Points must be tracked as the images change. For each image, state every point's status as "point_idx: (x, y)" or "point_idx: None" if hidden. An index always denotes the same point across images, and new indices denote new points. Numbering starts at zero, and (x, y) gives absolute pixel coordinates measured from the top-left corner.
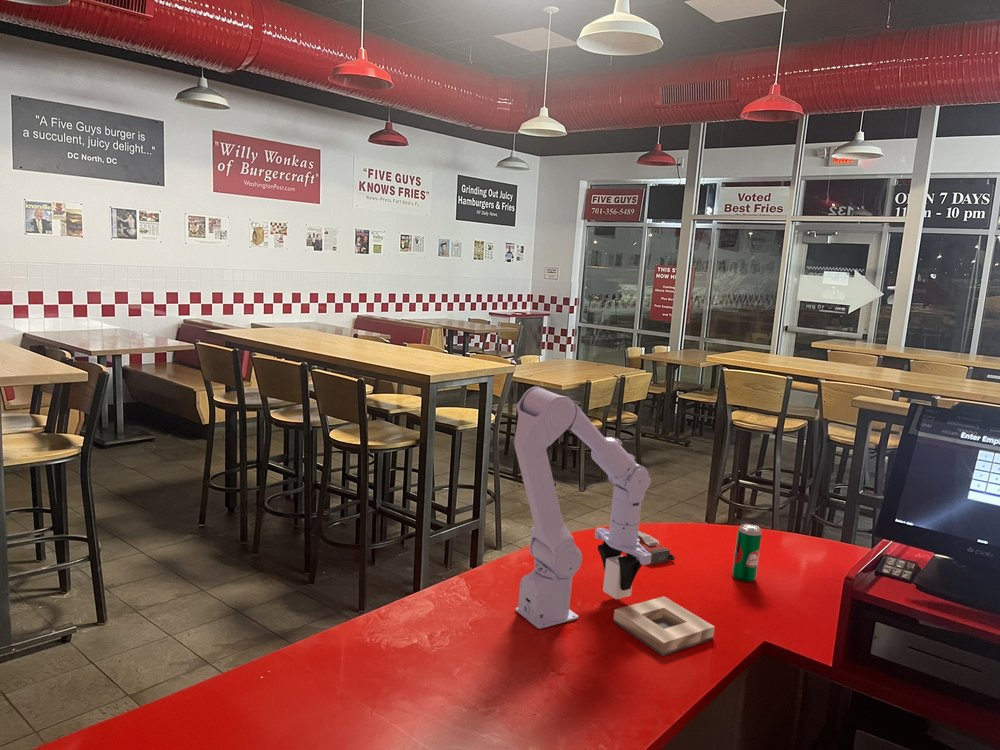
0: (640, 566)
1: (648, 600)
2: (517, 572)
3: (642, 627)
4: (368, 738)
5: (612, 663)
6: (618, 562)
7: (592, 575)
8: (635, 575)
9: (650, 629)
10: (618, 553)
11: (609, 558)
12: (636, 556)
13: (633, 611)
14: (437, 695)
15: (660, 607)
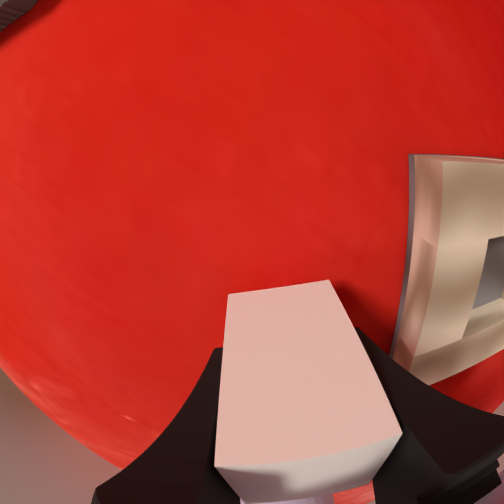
0: (465, 411)
1: (435, 266)
2: (81, 420)
3: (483, 357)
4: (371, 500)
5: (457, 398)
6: (327, 487)
7: (63, 279)
8: (407, 372)
9: (498, 344)
10: (211, 488)
11: (253, 500)
12: (480, 501)
13: (441, 354)
14: (363, 493)
15: (482, 252)
